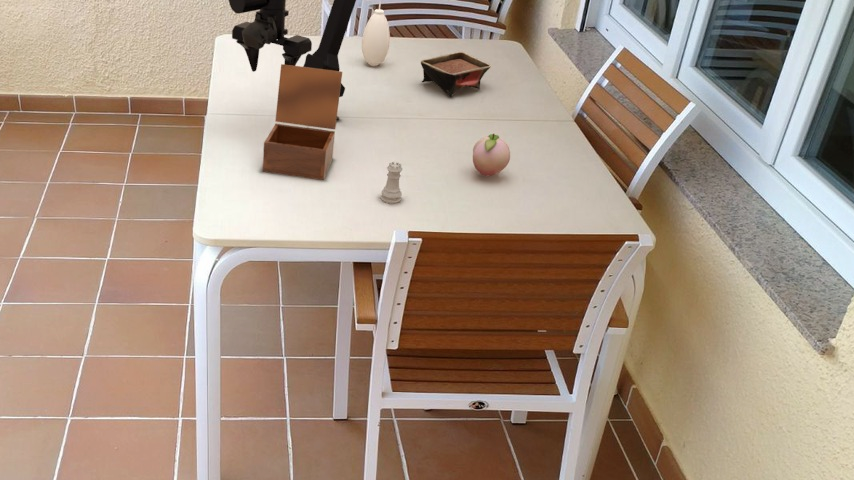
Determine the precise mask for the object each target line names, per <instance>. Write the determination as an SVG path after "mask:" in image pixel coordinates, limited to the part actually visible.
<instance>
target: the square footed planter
mask: <svg viewBox="0 0 854 480" xmlns="http://www.w3.org/2000/svg"><path fill="white" fill-rule="evenodd" d="M420 65H421V67H422V69H423V79H422V81H421V83H426V82H427V83H428V82H431V83H432V82H433V83H434V84H435V85H436V86H437V87H438V88H439V89H440V90H442V92H444V93H445V94H446V95H447V96H448V97H449V98H452V97H453V96H454V95H455V94H456V93H457V92H458V91H459V90H461V89H462V88H464V87H467V88H473V89H476V90H479V91H480V89H481V88H480V87H481V80H482V78H483V77H484V76H485V74H486V73H487V72H488V71H489V70H490V69H491V66H492V65H491V64H489V63H488V62H486V61H484V60H482V59H480V58H478V57H475V56H474V55H471V54H469V53H466V52H463V51H456V52H453V53H448V54H443V55H440V56H433V57H430V58H427V59H425V58H424V59H422V60H421V61H420Z"/></svg>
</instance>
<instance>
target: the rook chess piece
mask: <svg viewBox="0 0 854 480" xmlns="http://www.w3.org/2000/svg"><path fill="white" fill-rule="evenodd" d="M386 170H387V171H388V173H386V176H387V179H386V184H385V186H384V187H383V189H382V190H381V195H380V199H381V200H382V202H384V203H387V204H392V205H393V204H398V203H400V202H401V200H402V194H403V193H402V191H401V188H400V178H401V172H402V171H403V167H402V163H400V162H398V161H396V162H395V161H391V162H389V164H388V165H387V167H386Z"/></svg>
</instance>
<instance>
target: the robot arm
mask: <svg viewBox="0 0 854 480" xmlns="http://www.w3.org/2000/svg"><path fill="white" fill-rule="evenodd" d="M286 1H287V0H228V3H229V6H230V8H231V10H232V11H233V12H234V13H235V14H240V15H241V14H244V13H250V12H255V14H254V21H251V22H249V21H244V22H241V23H238V24H236V25H234V26H233V27H232V29H231V39H232V40H235V42H236V44H239V45H240V46H241V47H242V48H243V49H244V51H245V54H246V57H247V59H248V63H249V65H250V68H251V72H254V73H255V72H256V71H257V68H258V63H259V57H260V49H262V48H264V46H265V45H271V44H274V45H278V46H282V50H283V53H281V56H282V58H283V60H284V62H283V63H284V65H293V66H297V63H298V61H300V59H301V57H302V56H303V55H305V54H306V55H305V60H304V64H303V66H302V67H309V68H317V69H325V70H333V71H340V61H339V53H340V50H341V47H342V44H343V41H344V38H345V35H346V32H347V29H348V26H349V23H350V20H351V17H352V14H353V11H354V8H355V5H356V2H357V0H333V3H332V5H331V8H330V12H329V14H328V18H327V20H326V24H325V26H324V30H323V33H322V35H321V39H320V42H319V45H318V47H317V48H316V50H315V51H314V52H313V53H309V52H312V48H313V47H312V46H313V43H312V40H311V39H310V37H306V36H304V35H303V36H302V35H299V34H296V35H293V36H291V37H287V36H286V35H288V33H289V30H288V28H285V26H286V25H285V24H286V17H288V16H289V15H290V14H289V10H287V9H286V5H287V4H286V3H287V2H286ZM345 90H346V87H345V85H343V83H342V82H341V87H340V96H339V98H342V97H343V96H344V93H345V92H346V91H345ZM337 121H340V117H339V116H337V120H336V122H337Z"/></svg>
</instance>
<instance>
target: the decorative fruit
mask: <svg viewBox="0 0 854 480" xmlns="http://www.w3.org/2000/svg"><path fill="white" fill-rule="evenodd" d="M510 160H511V149H510V147H509V145H508V143H507V142H506V141H505V140H503V139H502V138H500V136H499V135H498V134H495V133H491V134H488V135H487V136H483V137H481V138H479V139H478V140H477V141H476V142H475V143H474V145H473V148H472V163H473V166H474V168H475V169H476V171H477V172H478V173H479V174H481V175H482V176H483V177H490V176H493V175H497V174H498V173H500V172H502V171H503V170H504V169H506V168H507V167H508V164H509V163H510Z"/></svg>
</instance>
